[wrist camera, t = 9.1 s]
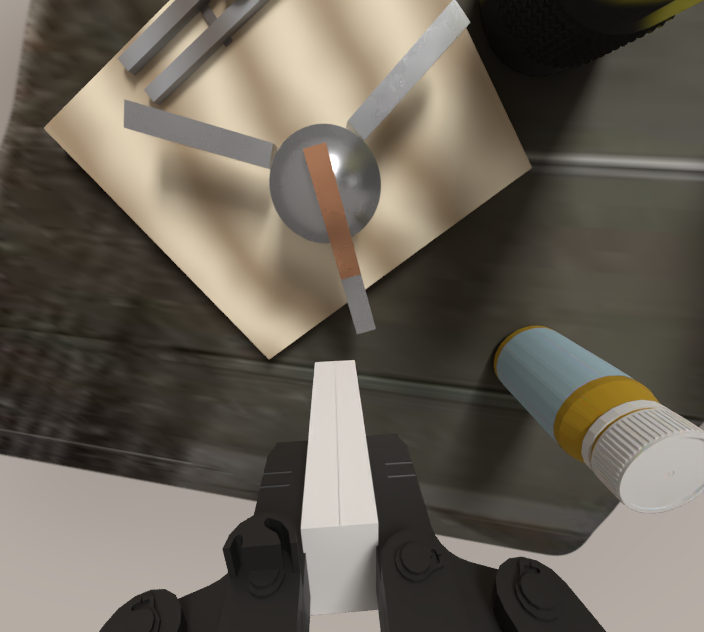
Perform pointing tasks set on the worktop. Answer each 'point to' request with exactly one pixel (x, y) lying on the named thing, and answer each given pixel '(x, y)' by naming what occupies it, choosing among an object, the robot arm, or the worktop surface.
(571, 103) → the worktop surface
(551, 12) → the container
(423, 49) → the capstan
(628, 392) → the bottle
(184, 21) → the stand
